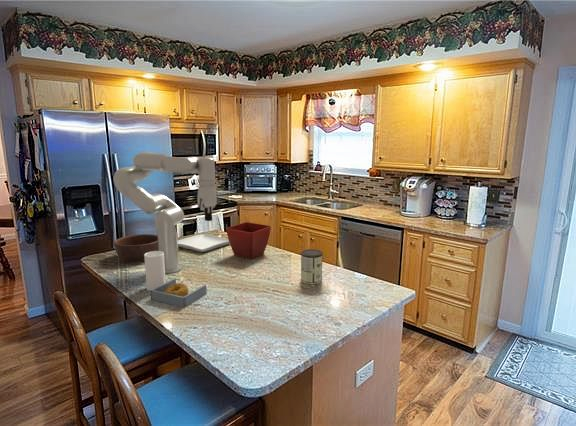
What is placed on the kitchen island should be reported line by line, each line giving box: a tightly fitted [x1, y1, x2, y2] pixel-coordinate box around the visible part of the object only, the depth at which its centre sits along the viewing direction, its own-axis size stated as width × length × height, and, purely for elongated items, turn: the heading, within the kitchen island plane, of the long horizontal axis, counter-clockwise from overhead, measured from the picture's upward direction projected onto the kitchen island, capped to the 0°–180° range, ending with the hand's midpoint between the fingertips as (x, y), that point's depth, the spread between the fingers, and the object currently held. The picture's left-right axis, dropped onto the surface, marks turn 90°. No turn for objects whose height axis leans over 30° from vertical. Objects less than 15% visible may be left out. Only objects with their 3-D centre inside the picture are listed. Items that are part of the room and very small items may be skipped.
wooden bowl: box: [113, 233, 159, 263], centre depth 209 cm, size 25×25×10 cm
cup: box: [144, 251, 167, 292], centre depth 165 cm, size 8×8×16 cm
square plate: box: [177, 233, 230, 253], centre depth 233 cm, size 27×27×4 cm
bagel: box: [164, 282, 189, 297], centre depth 157 cm, size 10×11×5 cm
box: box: [149, 278, 208, 308], centre depth 157 cm, size 18×15×4 cm
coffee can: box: [300, 248, 324, 285], centre depth 175 cm, size 10×10×14 cm
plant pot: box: [225, 221, 272, 260], centre depth 213 cm, size 19×19×17 cm
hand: (208, 220), depth 180 cm, fingers closed
